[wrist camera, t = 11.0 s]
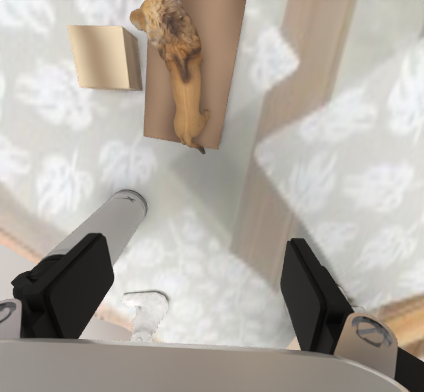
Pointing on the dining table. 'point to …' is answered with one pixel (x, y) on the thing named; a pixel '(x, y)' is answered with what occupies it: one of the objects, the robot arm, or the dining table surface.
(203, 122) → the lion figurine
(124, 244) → the travel mug
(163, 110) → the walnut block
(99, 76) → the oak block
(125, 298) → the seated beast figurine
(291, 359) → the robot arm
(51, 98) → the dining table surface
